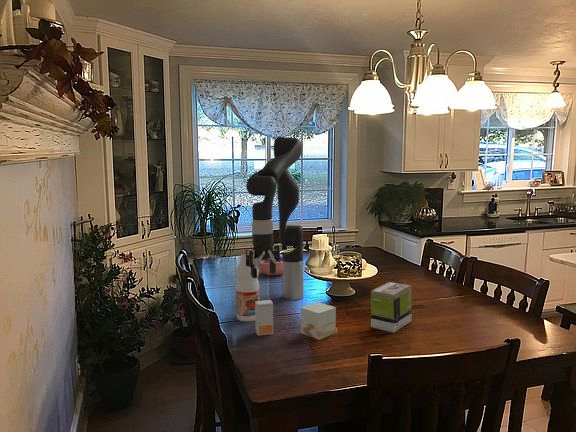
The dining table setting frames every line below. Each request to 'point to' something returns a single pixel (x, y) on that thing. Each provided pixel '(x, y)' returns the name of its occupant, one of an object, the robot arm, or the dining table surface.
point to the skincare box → (264, 317)
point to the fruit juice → (246, 290)
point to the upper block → (318, 314)
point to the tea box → (391, 306)
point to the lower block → (318, 330)
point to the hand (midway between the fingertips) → (263, 275)
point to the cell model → (265, 266)
